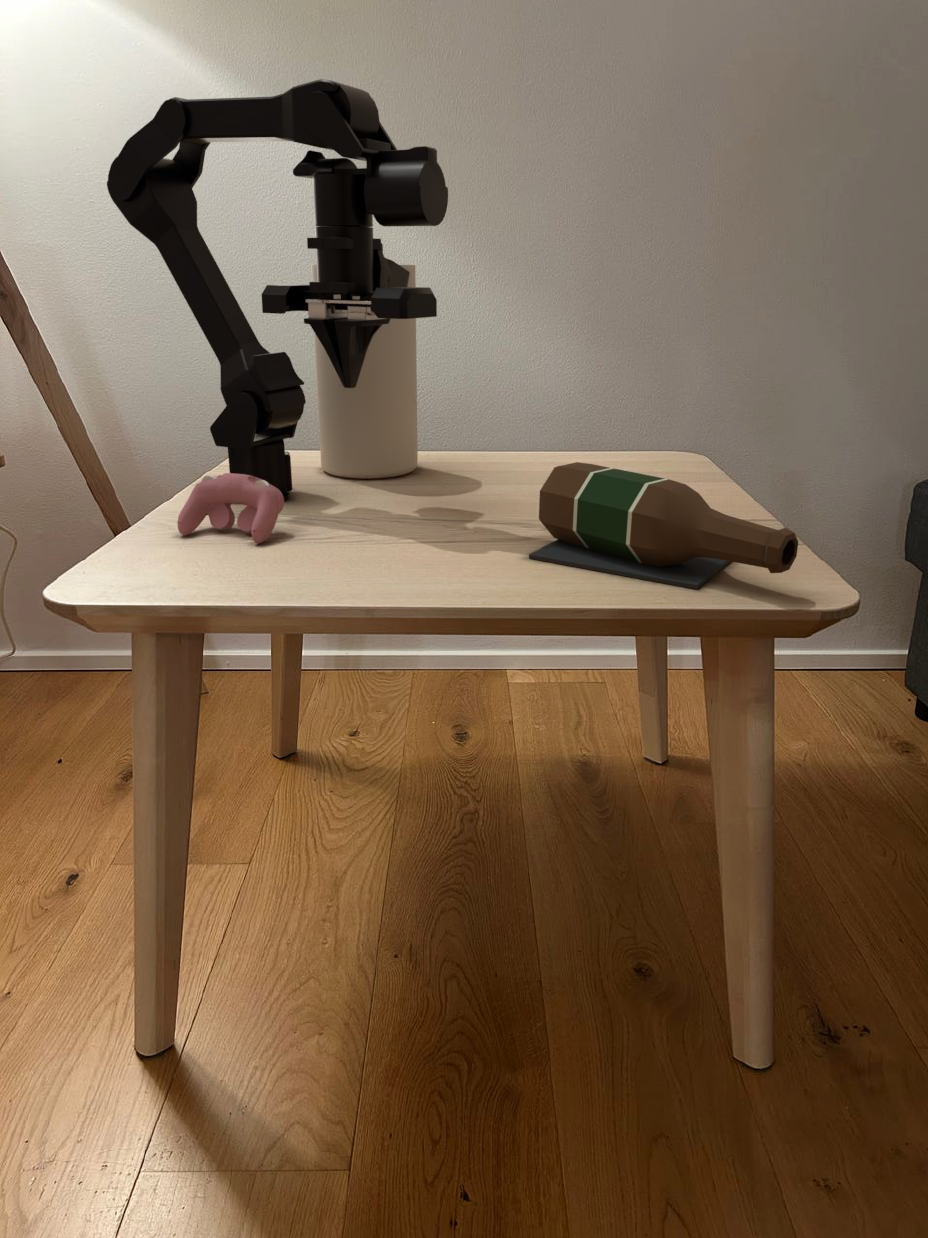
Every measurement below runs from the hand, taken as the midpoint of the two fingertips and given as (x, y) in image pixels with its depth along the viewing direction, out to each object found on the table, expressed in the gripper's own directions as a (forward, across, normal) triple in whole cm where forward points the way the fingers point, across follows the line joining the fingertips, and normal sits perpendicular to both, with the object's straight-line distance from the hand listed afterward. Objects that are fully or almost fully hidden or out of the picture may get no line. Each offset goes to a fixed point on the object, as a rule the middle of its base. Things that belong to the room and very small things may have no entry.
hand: (349, 387), depth 99 cm
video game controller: (+13, +4, +15) cm, 20 cm away
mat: (+13, -33, 0) cm, 35 cm away
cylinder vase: (+13, +11, -17) cm, 24 cm away
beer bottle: (+9, -24, -2) cm, 26 cm away
